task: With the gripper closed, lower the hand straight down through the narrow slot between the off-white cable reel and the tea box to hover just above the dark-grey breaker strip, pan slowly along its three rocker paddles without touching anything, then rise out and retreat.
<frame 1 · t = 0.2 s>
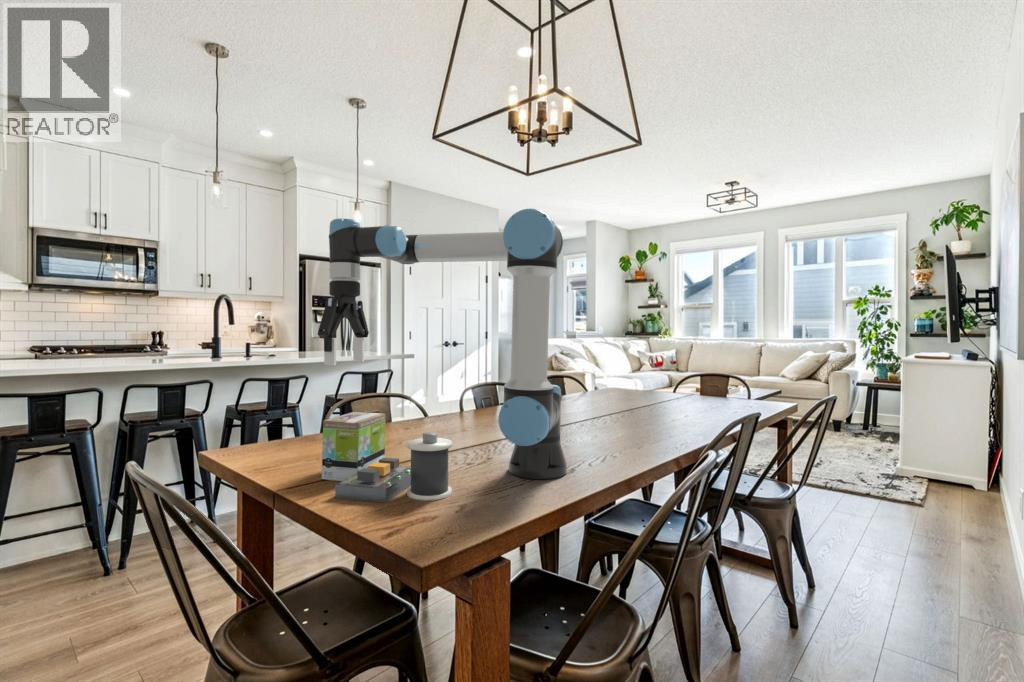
hand: (345, 363, 133), 28 cm above the table, fingers open, 13 cm apart
paddle 1: (368, 475, 115), point 5 cm above the table, hinge at 0.0°
tea box: (354, 474, 132), on the table
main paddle: (379, 469, 120), point 5 cm above the table, hinge at 0.0°
cable reel: (429, 493, 117), on the table
breaker strip: (379, 488, 120), on the table
paddle 2: (389, 463, 125), point 5 cm above the table, hinge at 0.0°
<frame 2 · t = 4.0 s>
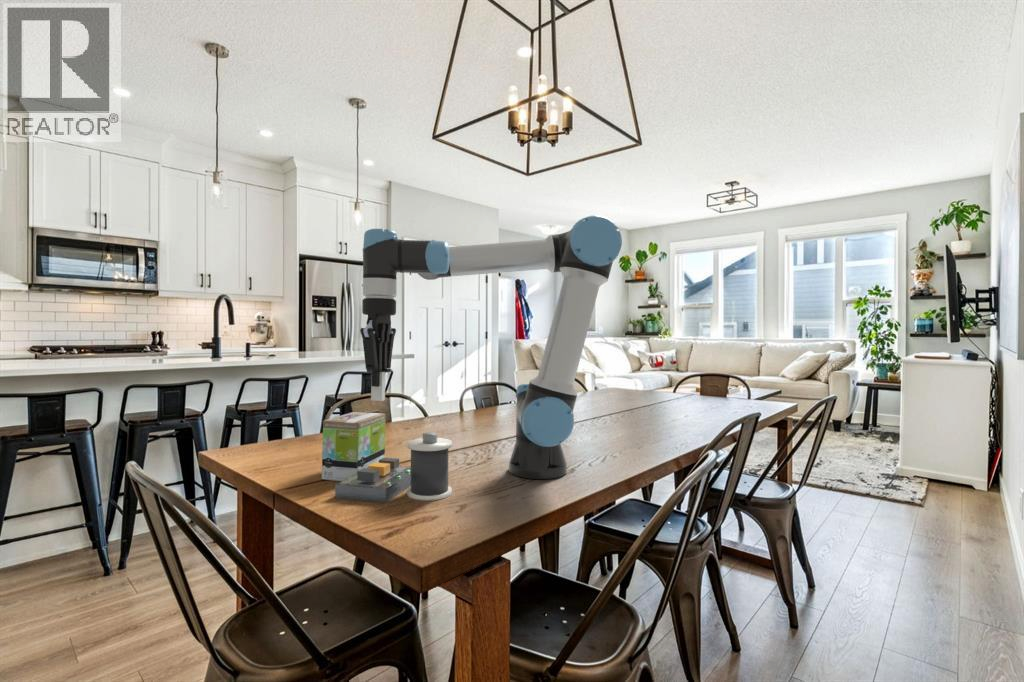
hand: (378, 400, 119), 21 cm above the table, fingers closed
nothing on the table moved.
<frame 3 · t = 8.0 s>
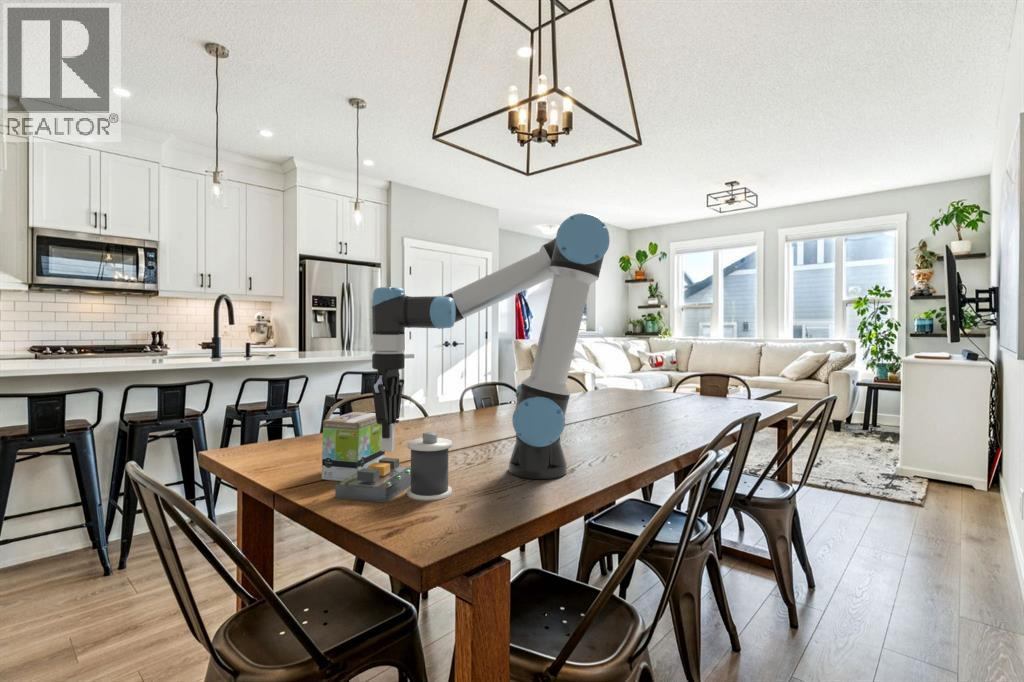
hand: (388, 450, 124), 8 cm above the table, fingers closed
nothing on the table moved.
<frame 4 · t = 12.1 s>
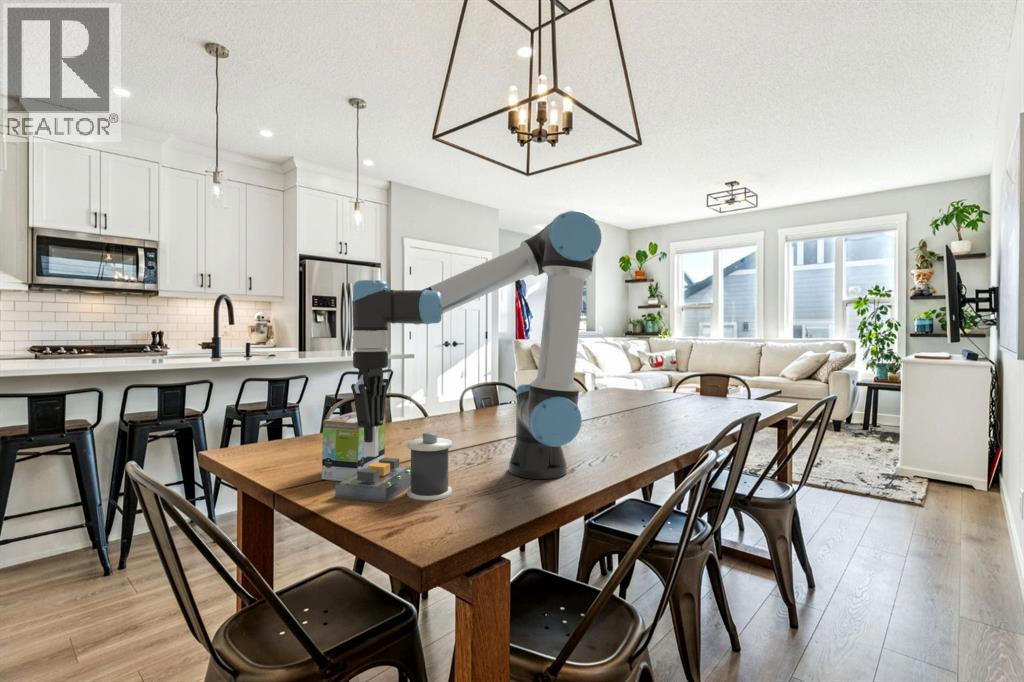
hand: (371, 455, 116), 9 cm above the table, fingers closed
nothing on the table moved.
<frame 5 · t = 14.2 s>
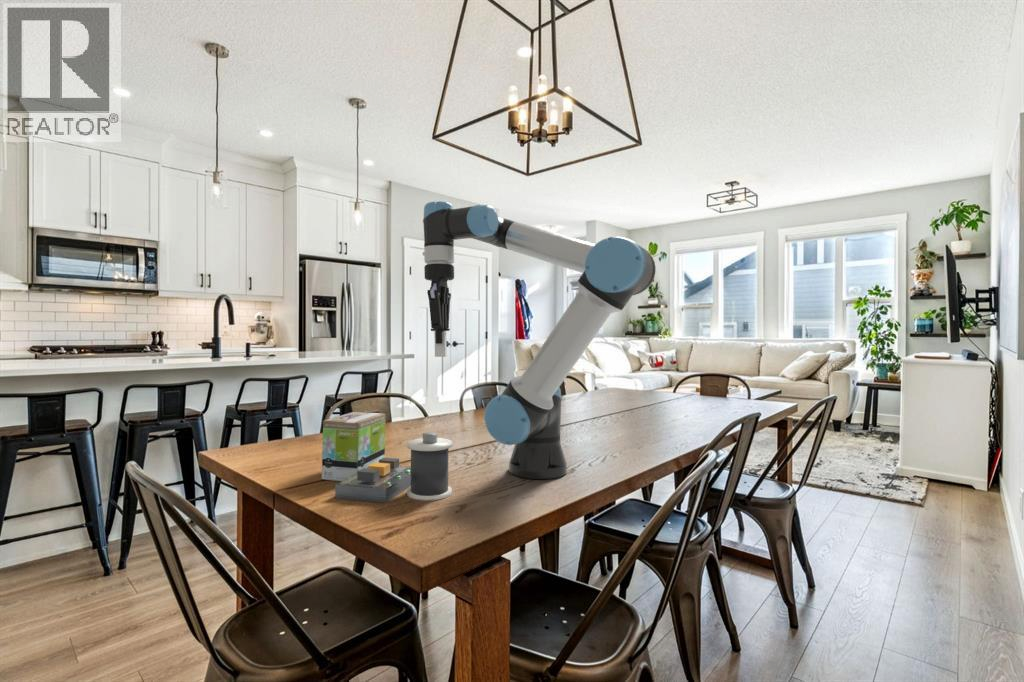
hand: (440, 356, 133), 30 cm above the table, fingers closed
nothing on the table moved.
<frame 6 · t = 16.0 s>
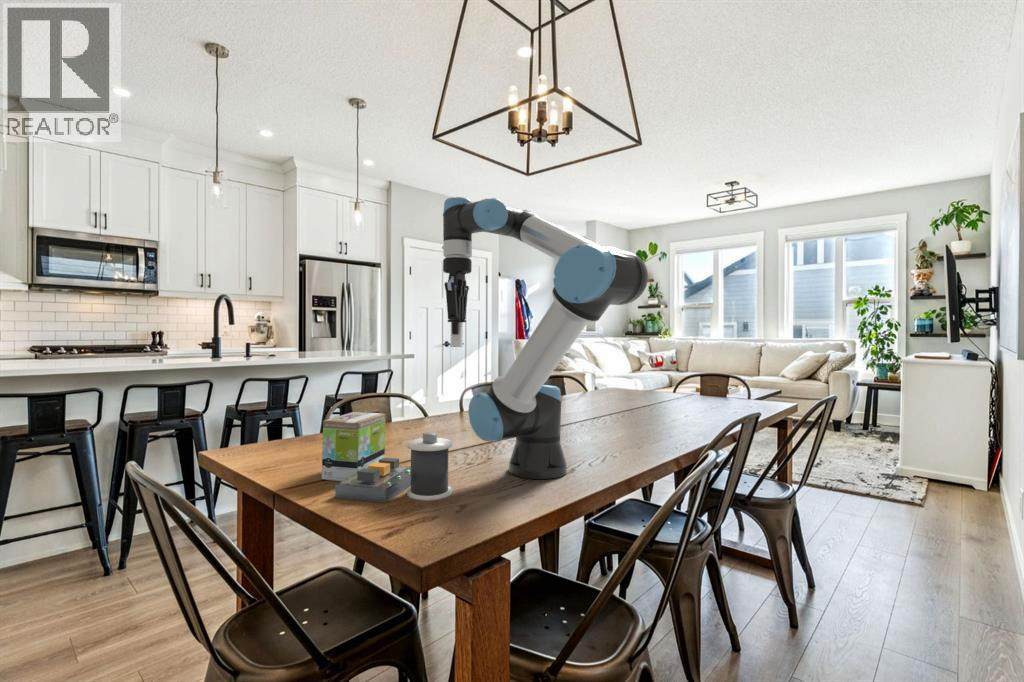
hand: (456, 346, 138), 32 cm above the table, fingers closed
nothing on the table moved.
at the end: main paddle at +0° (first picture: +0°); paddle 2 at +0° (first picture: +0°); tea box moved 0.3 cm from its start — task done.
